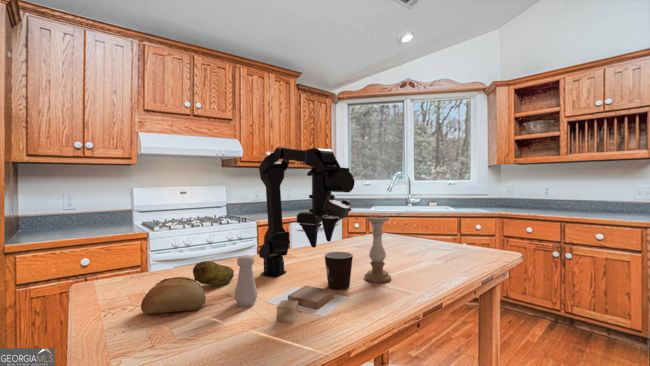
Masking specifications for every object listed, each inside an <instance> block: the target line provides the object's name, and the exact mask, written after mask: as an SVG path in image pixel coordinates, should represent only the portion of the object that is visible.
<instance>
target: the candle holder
mask: <svg viewBox="0 0 650 366" xmlns="http://www.w3.org/2000/svg"><path fill="white" fill-rule="evenodd" d="M365 221H366V222H368V223H369V222H370V225H371V226H372V231H371V234H372V236H373V237H372V246H371V247H370V250H369V255H368V256H369V259H370V260H371V262H370V263H369V265H371V267H372V268H371V270H368V271H367V272H366V273H365V274H364V277H363V278H364V280H366V281H367V282H370V283H375V284H376V283H379V284H382V283H389V282H390V281H391V280H392V276H391V274H389V272H387V271H386V270H384V266H385V264H386V262H384V261H385V259H386V257H387V253H386V250H385V248H384V246H383V240H382V235H384V232H383V231H382V229H383V226H384V225H385V223H386V222H389V221H390V219H389V217H387V216H376V215H375V216H367V217H365Z"/></svg>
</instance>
